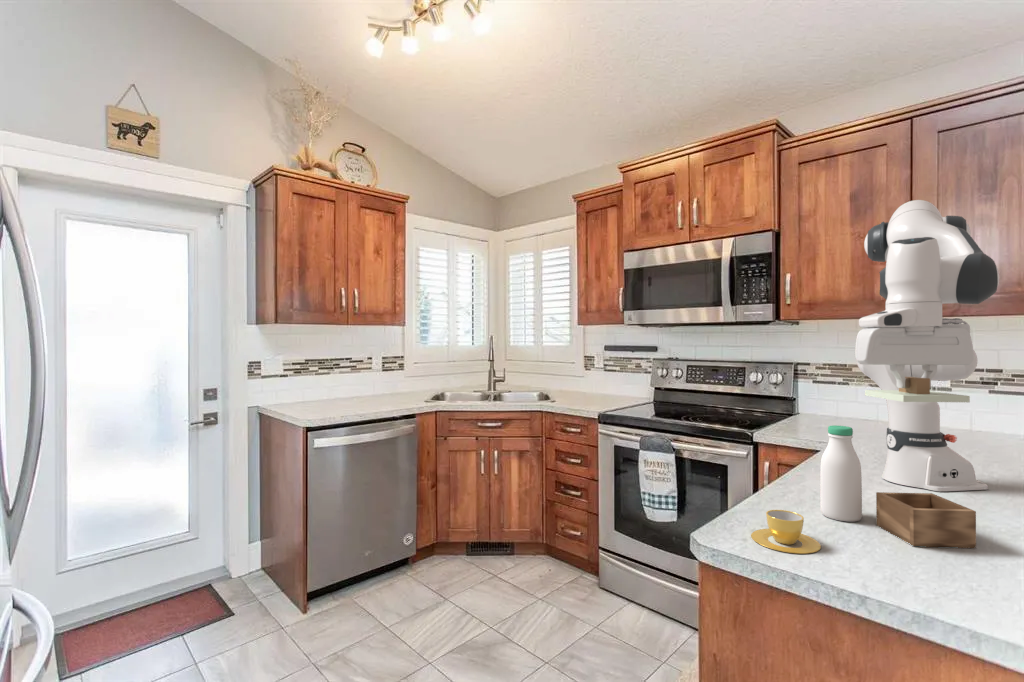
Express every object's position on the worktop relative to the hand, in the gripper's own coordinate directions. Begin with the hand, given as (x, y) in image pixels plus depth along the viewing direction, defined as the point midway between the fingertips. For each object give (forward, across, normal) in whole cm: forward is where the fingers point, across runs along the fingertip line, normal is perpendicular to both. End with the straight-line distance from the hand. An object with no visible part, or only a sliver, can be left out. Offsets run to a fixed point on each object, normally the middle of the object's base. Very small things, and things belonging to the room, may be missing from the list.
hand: (913, 388), depth 99 cm
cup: (+30, +26, +3) cm, 40 cm away
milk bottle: (+30, +8, -12) cm, 33 cm away
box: (+30, -2, -1) cm, 30 cm away
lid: (+2, 0, 0) cm, 2 cm away
